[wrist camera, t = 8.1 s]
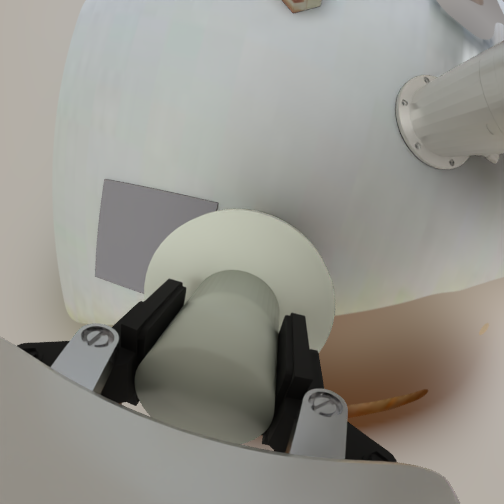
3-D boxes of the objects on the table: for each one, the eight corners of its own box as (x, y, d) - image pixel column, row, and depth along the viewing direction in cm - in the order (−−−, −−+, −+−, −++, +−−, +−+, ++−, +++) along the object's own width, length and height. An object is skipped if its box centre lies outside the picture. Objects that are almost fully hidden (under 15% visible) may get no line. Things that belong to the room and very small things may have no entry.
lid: (356, 236, 12) (427, 298, 5) (299, 388, 15) (302, 493, 8) (165, 190, 13) (61, 207, 6) (148, 348, 15) (87, 431, 8)
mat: (218, 202, 33) (217, 203, 32) (197, 308, 36) (196, 310, 36) (106, 179, 33) (104, 179, 33) (96, 275, 37) (95, 276, 36)
